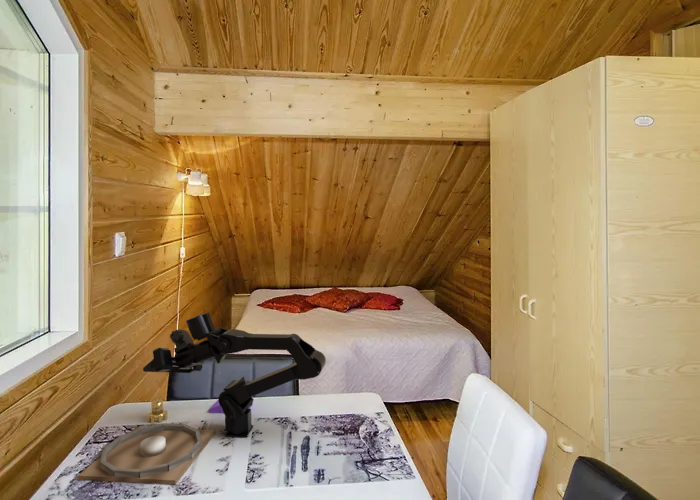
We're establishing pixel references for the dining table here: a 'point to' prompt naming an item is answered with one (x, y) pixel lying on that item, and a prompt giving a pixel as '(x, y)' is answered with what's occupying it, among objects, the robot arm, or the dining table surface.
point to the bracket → (218, 408)
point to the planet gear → (157, 411)
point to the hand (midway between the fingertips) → (154, 370)
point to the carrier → (149, 455)
